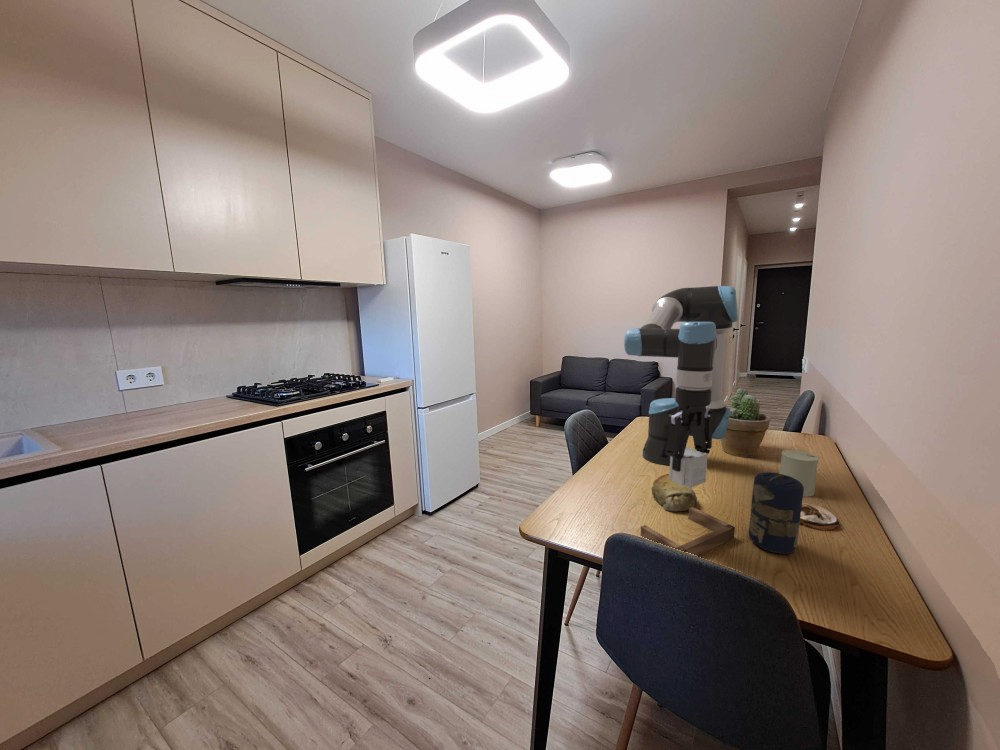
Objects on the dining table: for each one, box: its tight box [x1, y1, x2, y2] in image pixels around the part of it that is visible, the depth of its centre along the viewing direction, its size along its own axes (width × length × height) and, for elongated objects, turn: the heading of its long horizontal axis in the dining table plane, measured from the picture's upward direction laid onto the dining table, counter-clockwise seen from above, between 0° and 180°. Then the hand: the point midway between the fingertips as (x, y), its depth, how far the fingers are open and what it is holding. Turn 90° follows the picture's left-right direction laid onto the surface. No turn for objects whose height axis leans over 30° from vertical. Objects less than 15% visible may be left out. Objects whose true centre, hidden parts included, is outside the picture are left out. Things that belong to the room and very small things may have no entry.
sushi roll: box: [799, 502, 840, 531], centre depth 103 cm, size 15×15×4 cm
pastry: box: [651, 473, 698, 513], centre depth 112 cm, size 14×12×8 cm
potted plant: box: [719, 388, 772, 458], centre depth 150 cm, size 18×19×25 cm
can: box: [779, 449, 819, 498], centre depth 118 cm, size 9×9×12 cm
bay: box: [640, 506, 736, 556], centre depth 94 cm, size 12×20×3 cm, turn 118°
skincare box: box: [668, 446, 709, 489], centre depth 92 cm, size 6×6×7 cm
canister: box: [748, 471, 804, 555], centre depth 90 cm, size 10×10×18 cm
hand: (687, 479), depth 93 cm, fingers closed on skincare box, 6 cm apart
